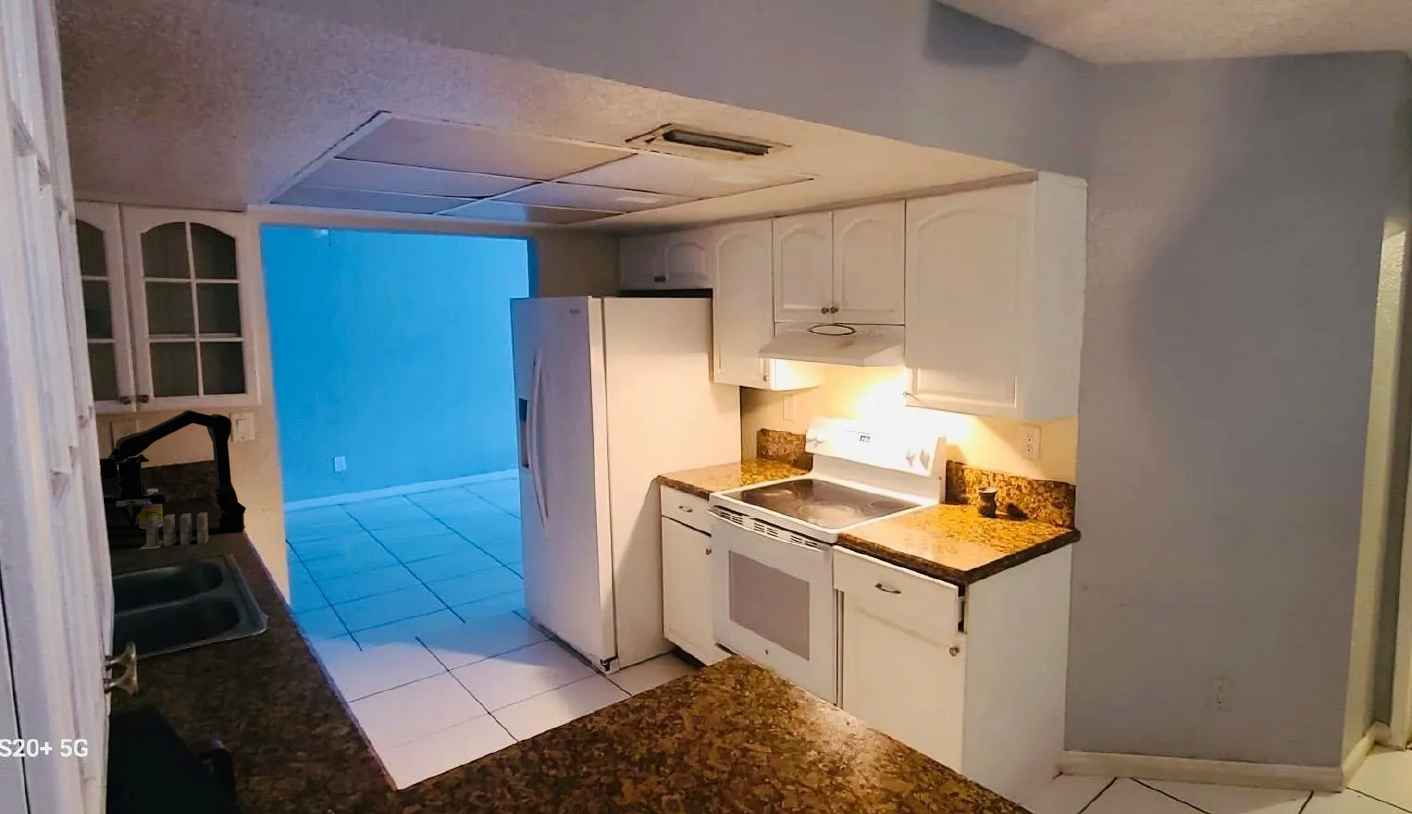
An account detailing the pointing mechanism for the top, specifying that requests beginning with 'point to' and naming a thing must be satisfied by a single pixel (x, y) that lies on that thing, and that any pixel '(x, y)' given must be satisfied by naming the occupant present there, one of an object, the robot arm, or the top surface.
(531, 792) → the top surface
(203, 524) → the domino
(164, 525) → the domino
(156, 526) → the tile
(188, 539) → the domino
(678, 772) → the top surface
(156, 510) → the supplement bottle
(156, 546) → the gap pad
